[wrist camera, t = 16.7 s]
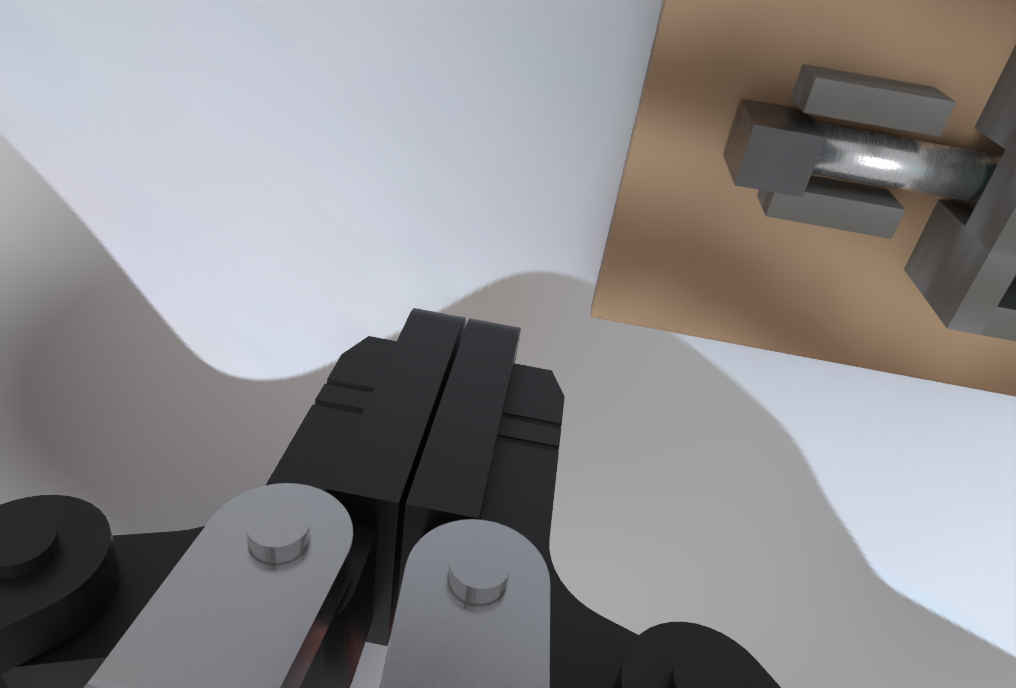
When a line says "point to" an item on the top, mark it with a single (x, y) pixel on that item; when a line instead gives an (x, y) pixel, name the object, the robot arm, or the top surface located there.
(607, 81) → the top surface
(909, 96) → the dock
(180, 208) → the top surface
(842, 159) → the lock pin
